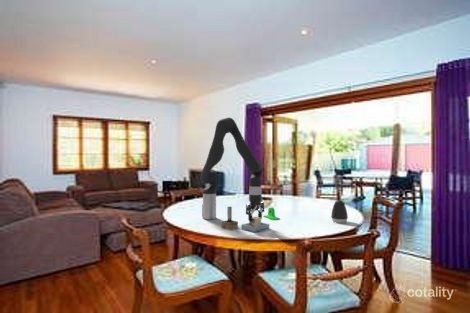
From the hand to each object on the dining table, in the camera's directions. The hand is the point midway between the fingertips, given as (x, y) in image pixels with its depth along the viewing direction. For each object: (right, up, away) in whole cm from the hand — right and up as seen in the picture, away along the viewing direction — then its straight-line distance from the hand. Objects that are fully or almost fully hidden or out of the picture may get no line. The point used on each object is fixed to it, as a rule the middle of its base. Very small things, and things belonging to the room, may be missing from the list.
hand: (255, 220), depth 178 cm
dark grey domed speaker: (+57, -6, +16) cm, 59 cm away
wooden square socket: (-15, -5, +3) cm, 17 cm away
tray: (0, -5, 0) cm, 5 cm away
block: (0, -4, 0) cm, 4 cm away
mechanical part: (+13, -6, +28) cm, 31 cm away
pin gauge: (-16, -4, +3) cm, 16 cm away
